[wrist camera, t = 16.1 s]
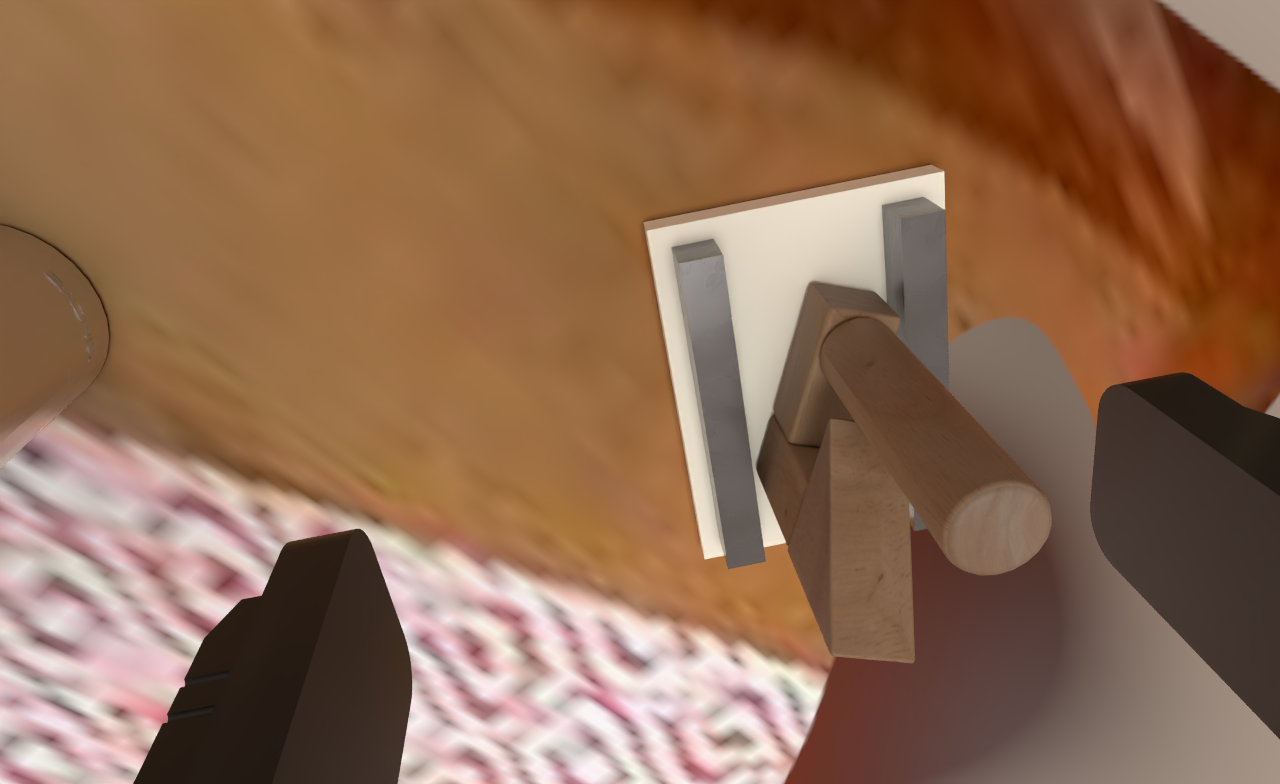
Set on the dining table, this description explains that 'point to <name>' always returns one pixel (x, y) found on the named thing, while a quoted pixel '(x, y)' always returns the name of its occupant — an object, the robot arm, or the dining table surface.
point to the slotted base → (782, 320)
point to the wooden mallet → (882, 475)
